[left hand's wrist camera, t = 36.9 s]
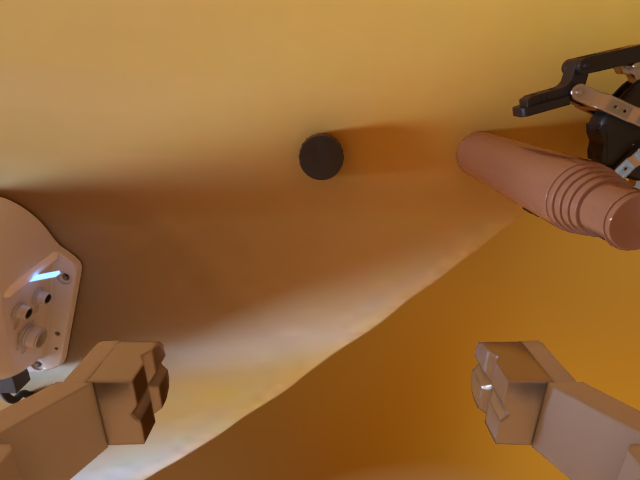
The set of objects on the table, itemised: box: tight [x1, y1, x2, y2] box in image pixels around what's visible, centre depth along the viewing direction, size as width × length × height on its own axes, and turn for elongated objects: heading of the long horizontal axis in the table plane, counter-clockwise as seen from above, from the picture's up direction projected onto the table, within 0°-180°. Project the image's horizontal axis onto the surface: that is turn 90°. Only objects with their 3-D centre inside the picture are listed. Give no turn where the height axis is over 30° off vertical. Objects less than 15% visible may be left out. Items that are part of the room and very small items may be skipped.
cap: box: [299, 133, 344, 180], centre depth 40 cm, size 4×4×2 cm
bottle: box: [457, 131, 640, 251], centre depth 31 cm, size 4×4×22 cm
